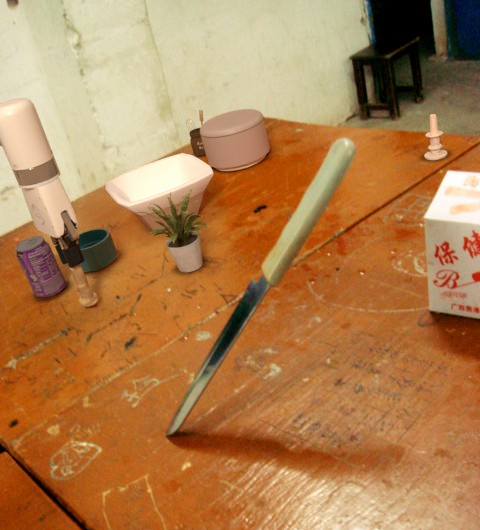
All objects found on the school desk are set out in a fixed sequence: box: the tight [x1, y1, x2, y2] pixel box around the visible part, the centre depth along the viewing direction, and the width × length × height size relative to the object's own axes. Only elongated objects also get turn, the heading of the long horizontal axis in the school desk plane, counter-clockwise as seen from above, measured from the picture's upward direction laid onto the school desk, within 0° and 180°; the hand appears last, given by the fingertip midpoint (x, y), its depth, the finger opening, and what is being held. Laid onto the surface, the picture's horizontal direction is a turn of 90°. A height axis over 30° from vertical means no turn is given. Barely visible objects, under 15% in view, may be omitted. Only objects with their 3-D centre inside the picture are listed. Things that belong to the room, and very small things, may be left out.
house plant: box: [130, 189, 208, 273], centre depth 128 cm, size 14×14×16 cm
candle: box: [423, 113, 448, 161], centre depth 148 cm, size 5×5×10 cm
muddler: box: [58, 234, 99, 308], centre depth 123 cm, size 4×4×15 cm
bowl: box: [104, 152, 214, 231], centre depth 155 cm, size 24×25×11 cm
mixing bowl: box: [77, 227, 119, 273], centre depth 144 cm, size 10×10×6 cm
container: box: [199, 108, 271, 172], centre depth 177 cm, size 18×18×12 cm
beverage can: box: [14, 235, 67, 298], centre depth 136 cm, size 7×7×12 cm
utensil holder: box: [185, 109, 206, 157], centre depth 191 cm, size 6×6×12 cm
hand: (73, 262), depth 122 cm, fingers closed on muddler, 2 cm apart
